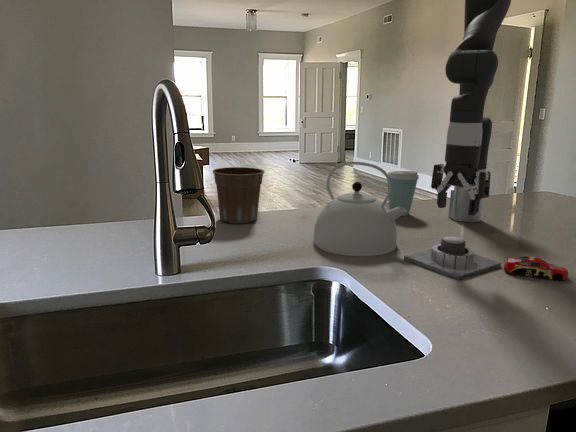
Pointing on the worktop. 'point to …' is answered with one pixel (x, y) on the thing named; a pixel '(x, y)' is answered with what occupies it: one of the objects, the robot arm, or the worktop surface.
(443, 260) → the square plate with hole
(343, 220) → the kettle
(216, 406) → the worktop surface
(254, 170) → the plant pot
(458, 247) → the cylindrical peg
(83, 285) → the worktop surface
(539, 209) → the worktop surface
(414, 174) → the disposable coffee cup
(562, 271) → the race car
